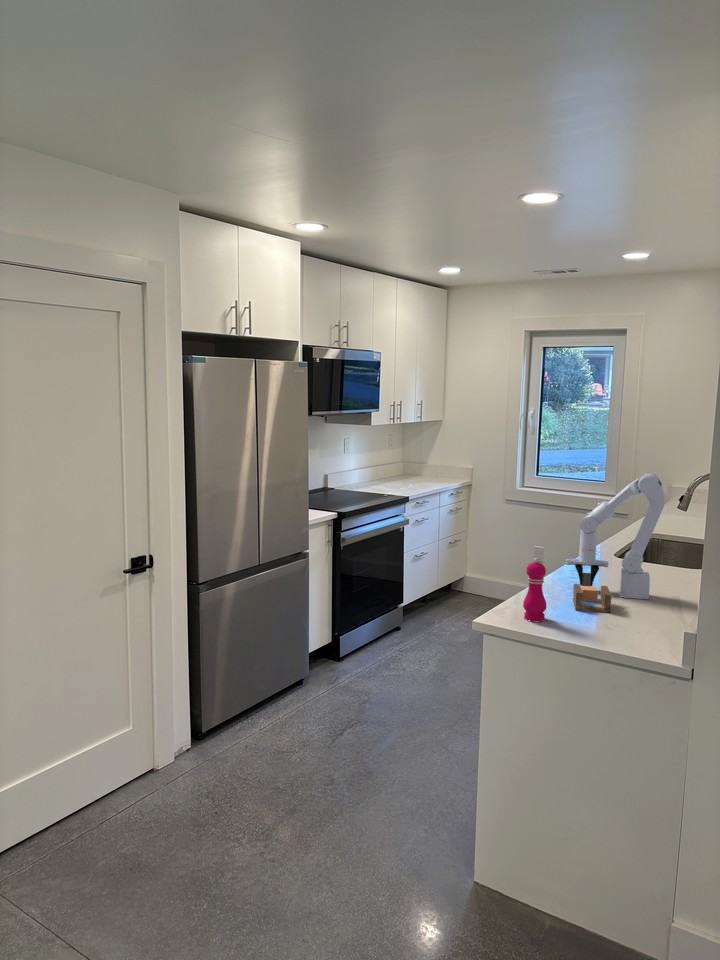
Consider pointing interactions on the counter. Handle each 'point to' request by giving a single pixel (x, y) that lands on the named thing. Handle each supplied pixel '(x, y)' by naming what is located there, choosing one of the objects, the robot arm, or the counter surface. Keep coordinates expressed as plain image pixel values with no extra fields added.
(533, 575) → the pepper mill
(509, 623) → the counter surface
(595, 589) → the grey and tan dumbbell
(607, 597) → the brown wooden u-shaped piece
